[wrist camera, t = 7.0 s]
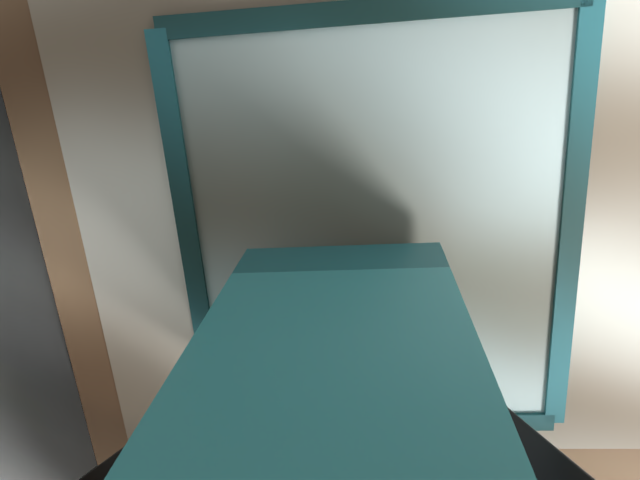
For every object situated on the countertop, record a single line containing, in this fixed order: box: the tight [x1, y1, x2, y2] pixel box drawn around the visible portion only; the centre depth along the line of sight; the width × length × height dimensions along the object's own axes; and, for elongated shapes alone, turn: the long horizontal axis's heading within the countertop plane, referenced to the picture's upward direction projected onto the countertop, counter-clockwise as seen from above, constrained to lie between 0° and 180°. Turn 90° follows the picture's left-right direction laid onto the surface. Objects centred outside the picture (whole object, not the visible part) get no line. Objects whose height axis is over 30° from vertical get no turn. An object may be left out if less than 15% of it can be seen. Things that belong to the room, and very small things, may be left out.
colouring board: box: [0, 0, 640, 480], centre depth 9 cm, size 18×15×1 cm
